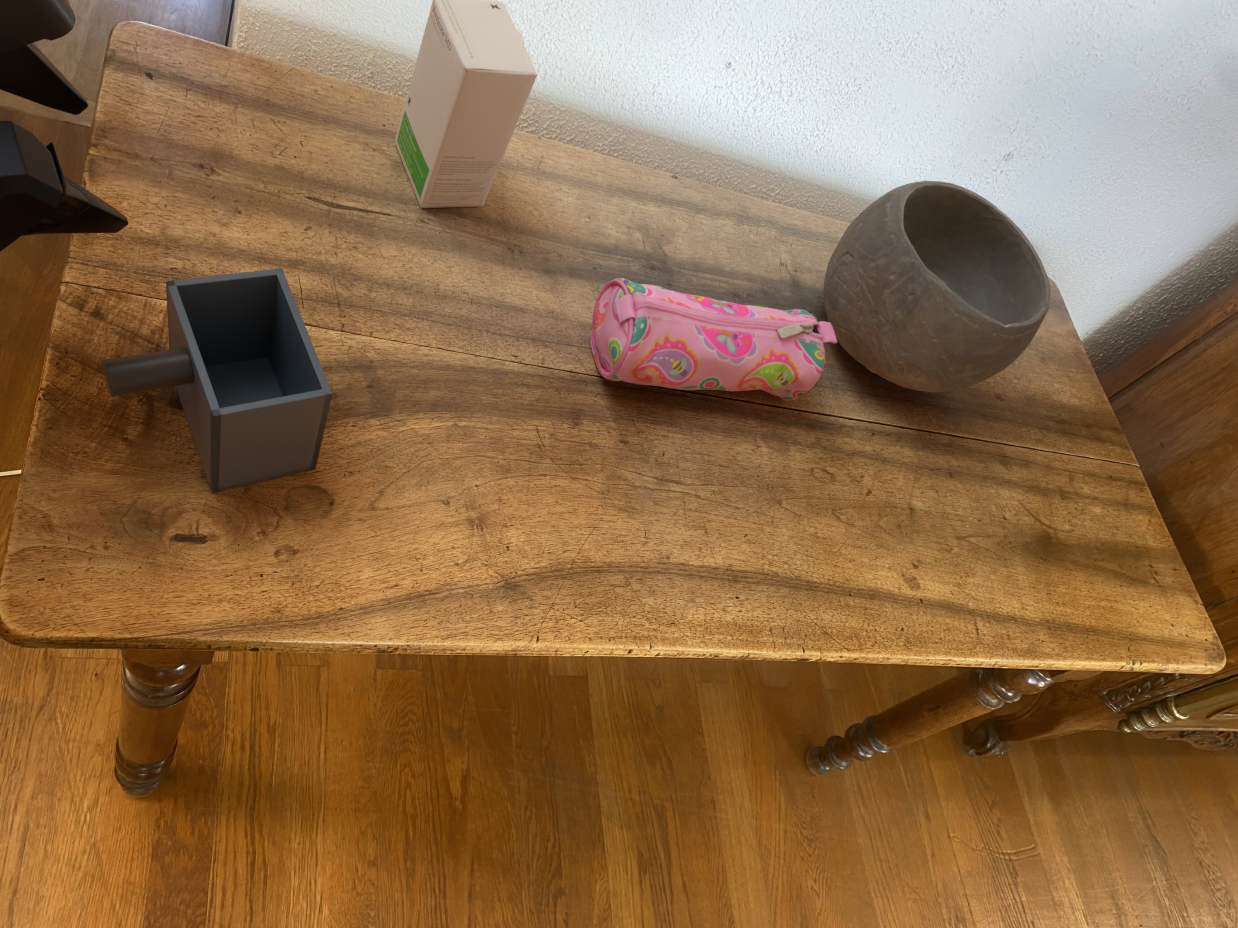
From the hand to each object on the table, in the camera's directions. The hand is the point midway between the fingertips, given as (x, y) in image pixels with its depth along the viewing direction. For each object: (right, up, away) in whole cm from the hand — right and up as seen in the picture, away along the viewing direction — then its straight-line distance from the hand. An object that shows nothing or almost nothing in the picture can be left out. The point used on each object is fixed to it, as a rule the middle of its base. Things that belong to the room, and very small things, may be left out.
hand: (102, 166), depth 52 cm
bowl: (+58, -4, +43) cm, 72 cm away
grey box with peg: (+2, -15, +9) cm, 18 cm away
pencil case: (+37, -9, +30) cm, 48 cm away
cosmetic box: (+14, +9, +29) cm, 34 cm away
